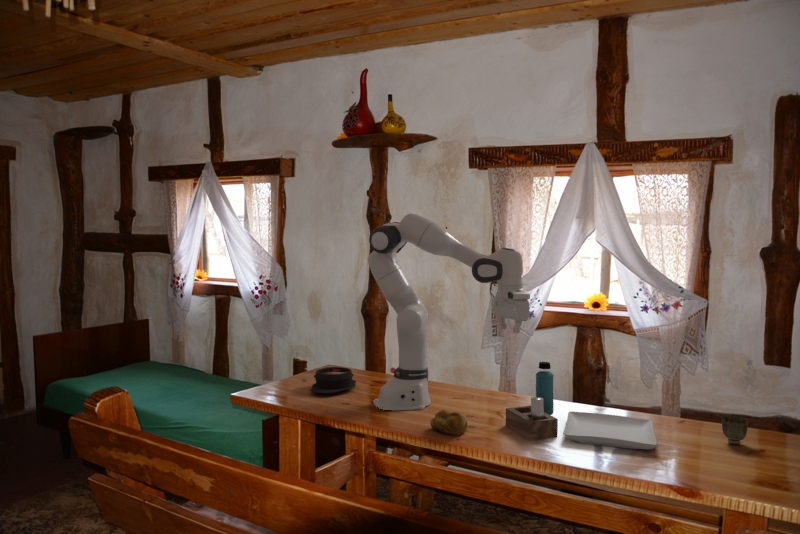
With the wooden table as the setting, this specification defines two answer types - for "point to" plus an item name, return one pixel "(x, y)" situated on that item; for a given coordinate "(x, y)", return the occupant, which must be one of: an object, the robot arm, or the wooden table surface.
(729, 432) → the cup
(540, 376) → the beverage bottle
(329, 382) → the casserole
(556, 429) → the socket block
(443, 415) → the bread roll
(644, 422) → the square plate
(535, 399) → the steel pin
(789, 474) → the wooden table surface
